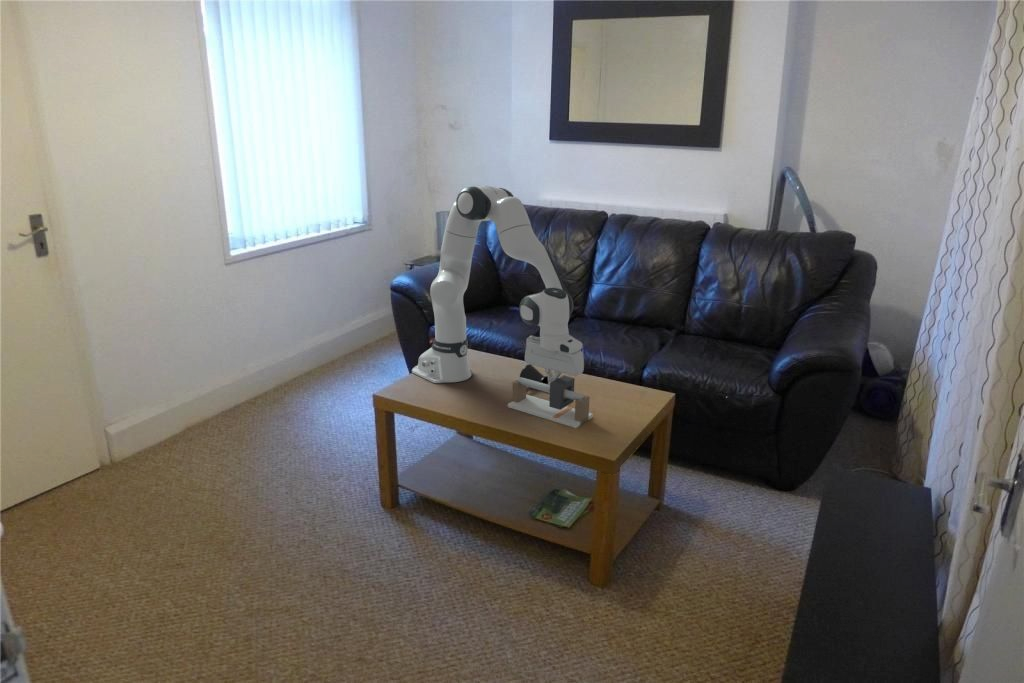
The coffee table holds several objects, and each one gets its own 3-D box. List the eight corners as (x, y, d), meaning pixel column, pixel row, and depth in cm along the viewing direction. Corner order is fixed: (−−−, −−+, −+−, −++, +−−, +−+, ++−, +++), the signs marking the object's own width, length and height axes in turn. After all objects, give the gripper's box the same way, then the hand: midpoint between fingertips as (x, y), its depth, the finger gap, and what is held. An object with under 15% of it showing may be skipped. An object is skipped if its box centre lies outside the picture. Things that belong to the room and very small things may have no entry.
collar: (549, 406, 221) (549, 382, 218) (563, 398, 227) (563, 375, 224) (560, 409, 218) (560, 385, 216) (573, 401, 225) (574, 378, 222)
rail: (507, 407, 230) (508, 380, 227) (525, 397, 238) (525, 371, 234) (575, 428, 215) (577, 399, 212) (592, 417, 223) (593, 389, 220)
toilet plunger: (531, 378, 253) (550, 387, 249) (499, 399, 241) (518, 409, 236) (532, 360, 249) (551, 369, 245) (499, 381, 237) (519, 390, 233)
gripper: (520, 336, 221) (520, 377, 226) (576, 350, 210) (574, 392, 214) (532, 331, 226) (531, 372, 231) (587, 344, 215) (585, 386, 219)
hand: (552, 382), depth 222 cm, fingers closed
